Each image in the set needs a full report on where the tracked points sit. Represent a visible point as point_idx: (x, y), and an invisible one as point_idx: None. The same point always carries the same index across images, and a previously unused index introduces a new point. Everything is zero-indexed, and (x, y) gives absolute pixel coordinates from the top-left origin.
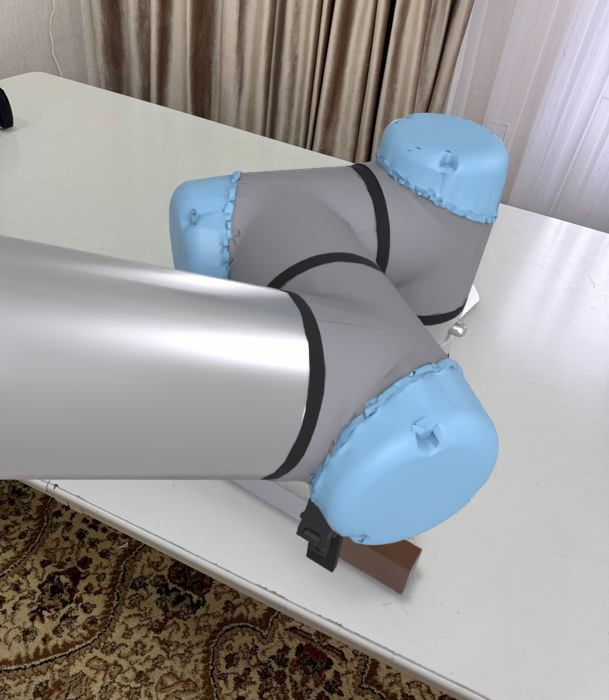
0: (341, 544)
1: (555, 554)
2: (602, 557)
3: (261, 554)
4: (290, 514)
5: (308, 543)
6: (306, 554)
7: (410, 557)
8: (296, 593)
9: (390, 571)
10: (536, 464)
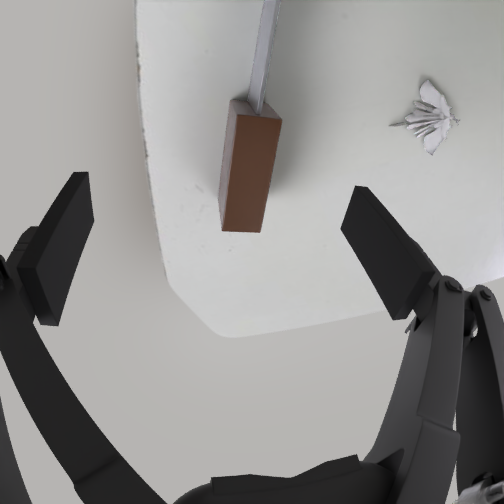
0: (74, 270)
1: (327, 297)
2: (335, 320)
3: (179, 23)
4: (259, 29)
5: (57, 196)
6: (71, 175)
7: (241, 225)
8: (152, 91)
9: (222, 197)
10: None
